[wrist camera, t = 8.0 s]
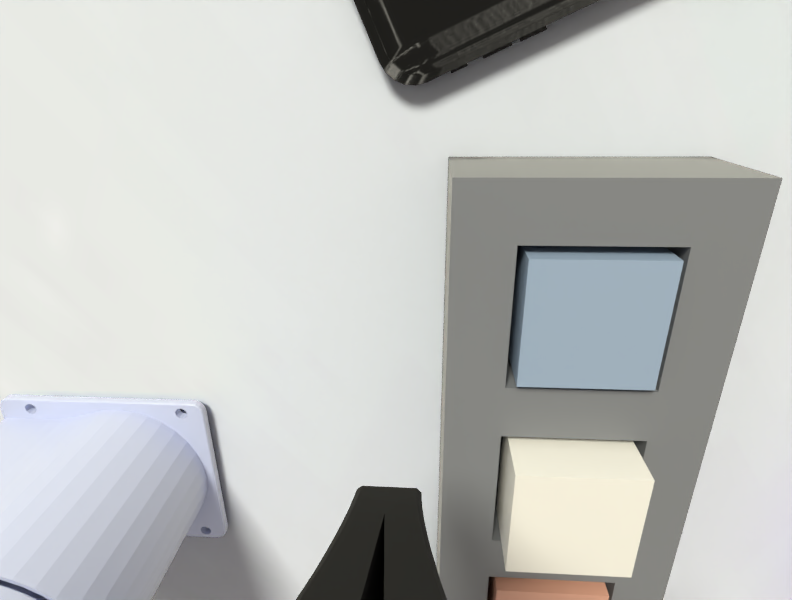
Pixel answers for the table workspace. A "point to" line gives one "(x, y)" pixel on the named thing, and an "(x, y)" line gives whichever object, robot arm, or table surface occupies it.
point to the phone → (451, 31)
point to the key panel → (574, 407)
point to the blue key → (591, 315)
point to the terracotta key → (544, 589)
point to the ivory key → (572, 505)
